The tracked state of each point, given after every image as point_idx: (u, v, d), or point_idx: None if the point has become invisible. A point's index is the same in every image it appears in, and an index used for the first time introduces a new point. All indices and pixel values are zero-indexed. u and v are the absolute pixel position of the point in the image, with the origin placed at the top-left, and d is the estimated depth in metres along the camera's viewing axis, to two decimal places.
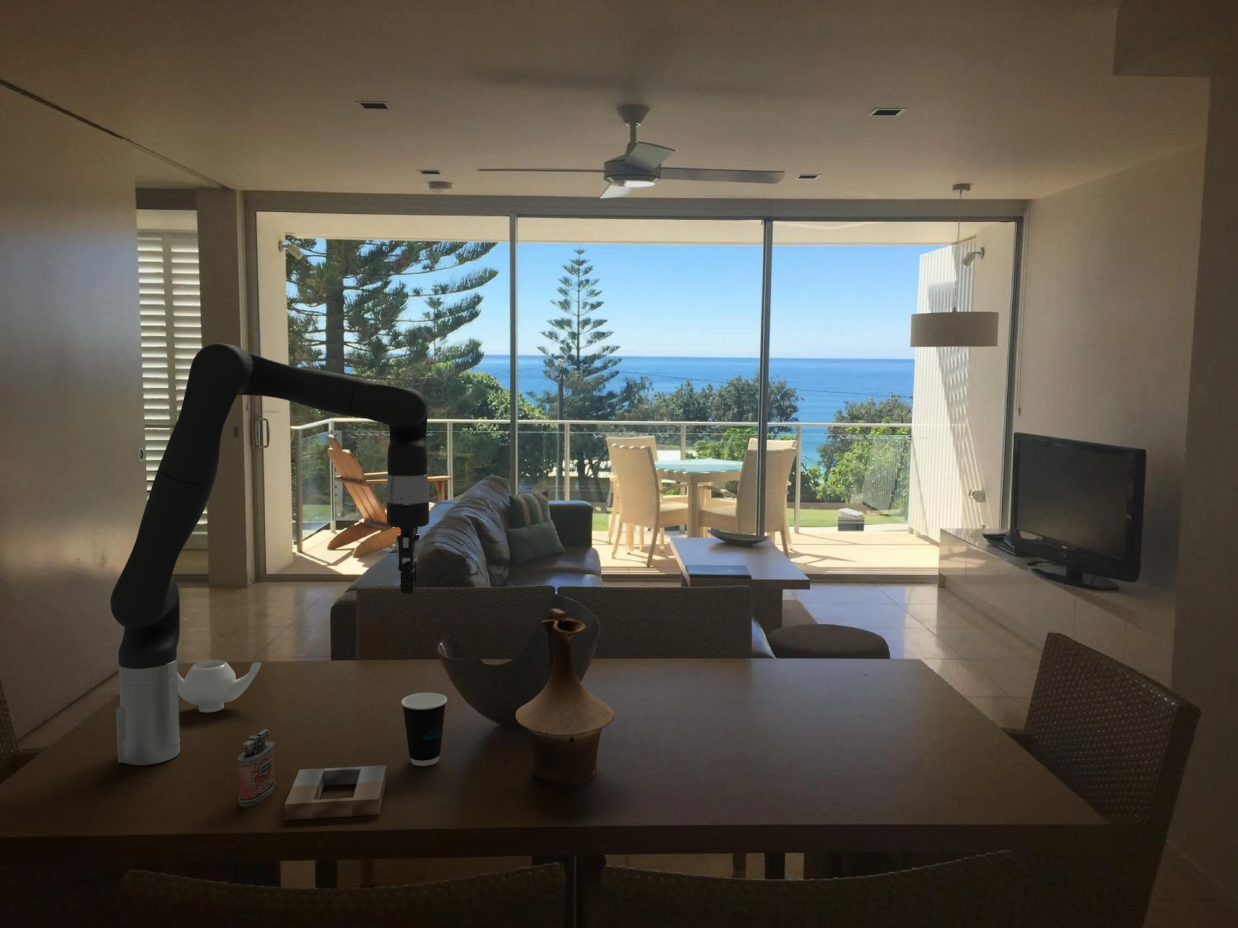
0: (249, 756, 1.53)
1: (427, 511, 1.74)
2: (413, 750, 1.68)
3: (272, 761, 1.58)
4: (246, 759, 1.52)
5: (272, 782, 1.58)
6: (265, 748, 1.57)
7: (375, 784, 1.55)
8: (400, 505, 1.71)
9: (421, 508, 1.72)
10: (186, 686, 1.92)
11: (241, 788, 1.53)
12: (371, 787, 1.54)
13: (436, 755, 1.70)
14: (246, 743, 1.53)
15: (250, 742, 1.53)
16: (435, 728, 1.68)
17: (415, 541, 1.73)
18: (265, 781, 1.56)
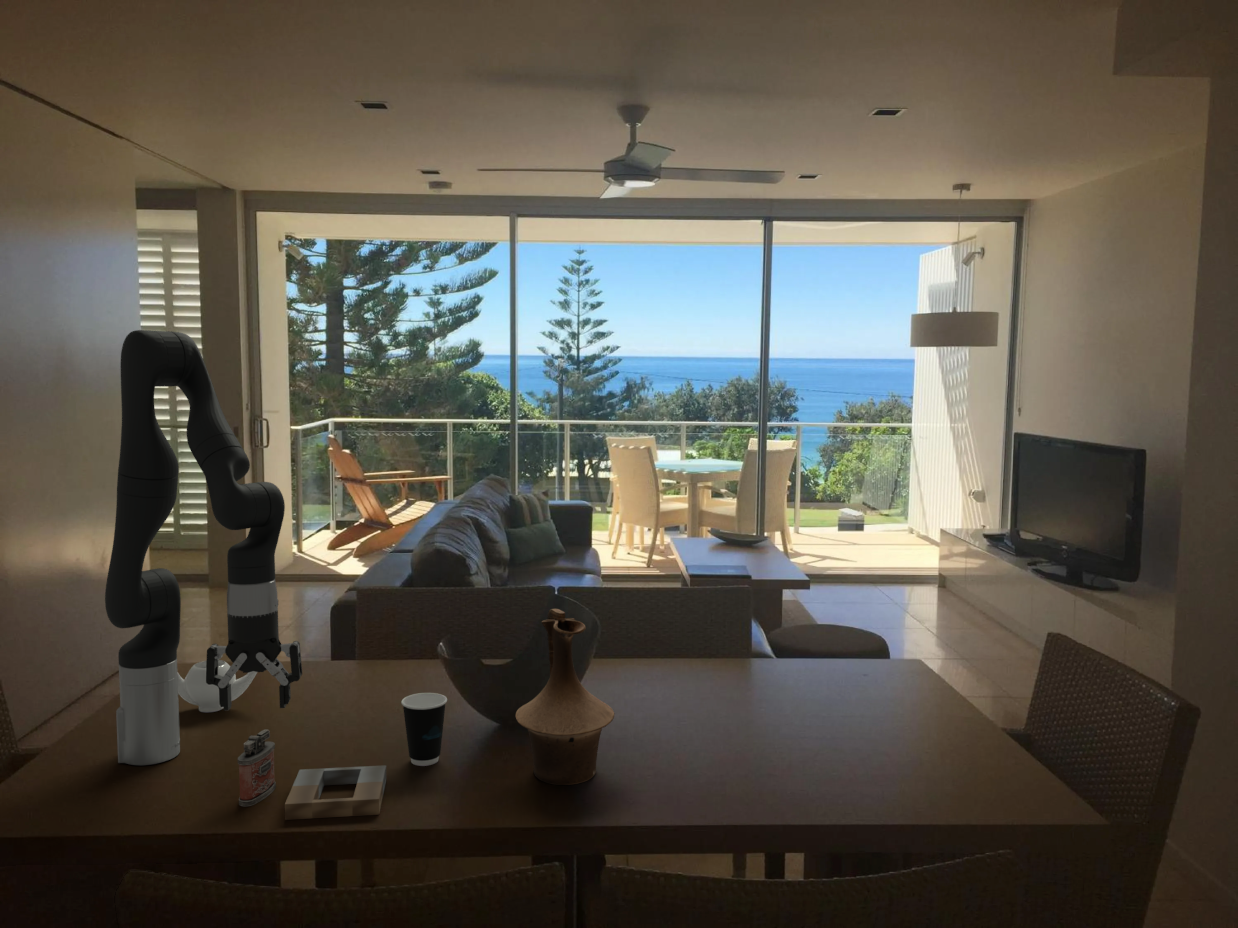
0: (249, 756, 1.53)
1: None
2: (413, 750, 1.68)
3: (272, 761, 1.58)
4: (246, 759, 1.52)
5: (272, 782, 1.58)
6: (265, 748, 1.57)
7: (375, 784, 1.55)
8: (275, 613, 1.53)
9: None
10: (186, 686, 1.92)
11: (241, 788, 1.53)
12: (371, 787, 1.54)
13: (436, 755, 1.70)
14: (246, 743, 1.53)
15: (250, 742, 1.53)
16: (435, 728, 1.68)
17: None
18: (265, 781, 1.56)
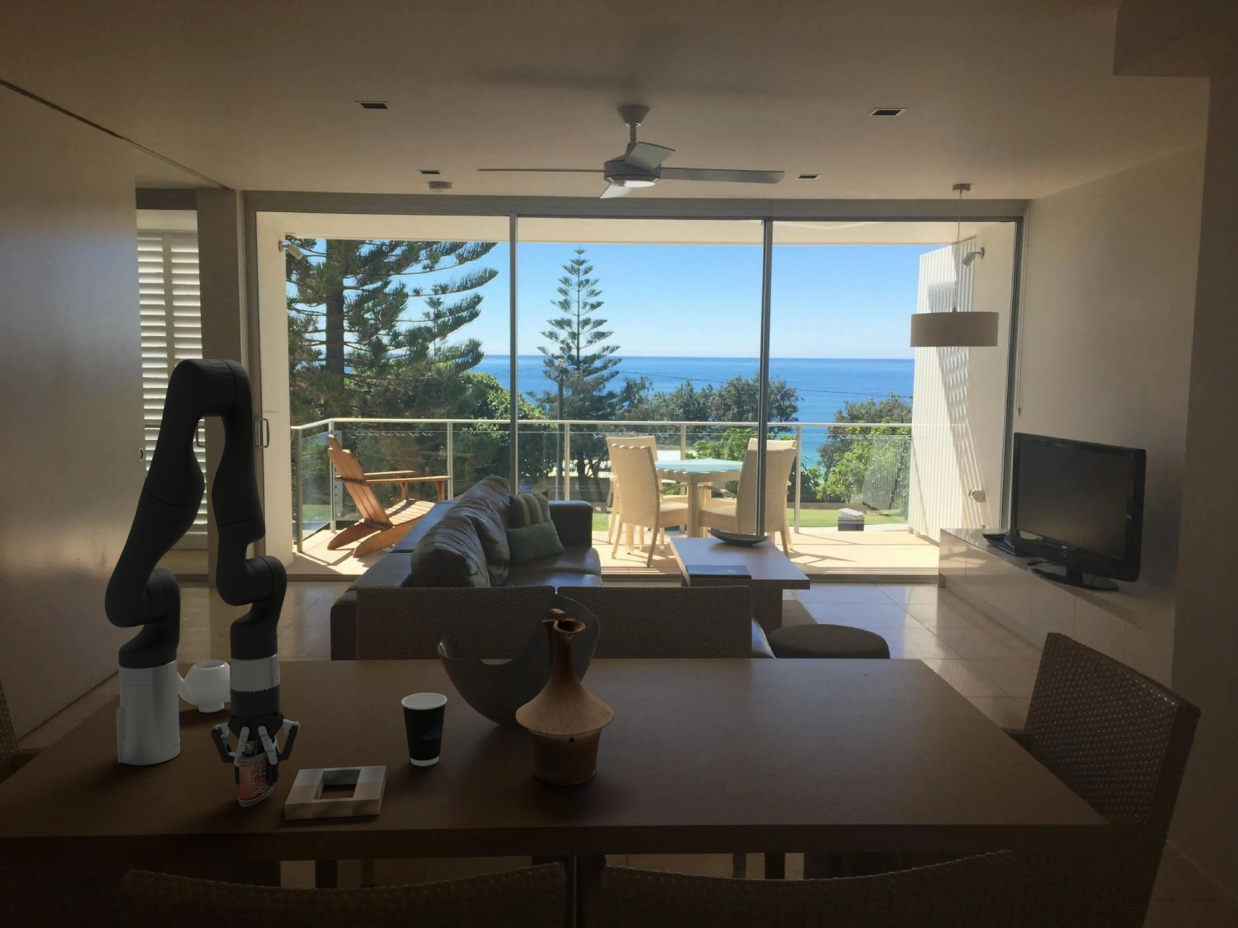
0: (250, 756, 1.53)
1: None
2: (413, 750, 1.68)
3: None
4: (246, 759, 1.52)
5: None
6: None
7: (375, 784, 1.55)
8: (277, 686, 1.54)
9: None
10: (186, 686, 1.92)
11: (241, 788, 1.52)
12: (371, 787, 1.54)
13: (436, 755, 1.70)
14: (246, 743, 1.53)
15: (250, 742, 1.53)
16: (435, 728, 1.68)
17: None
18: (266, 781, 1.56)
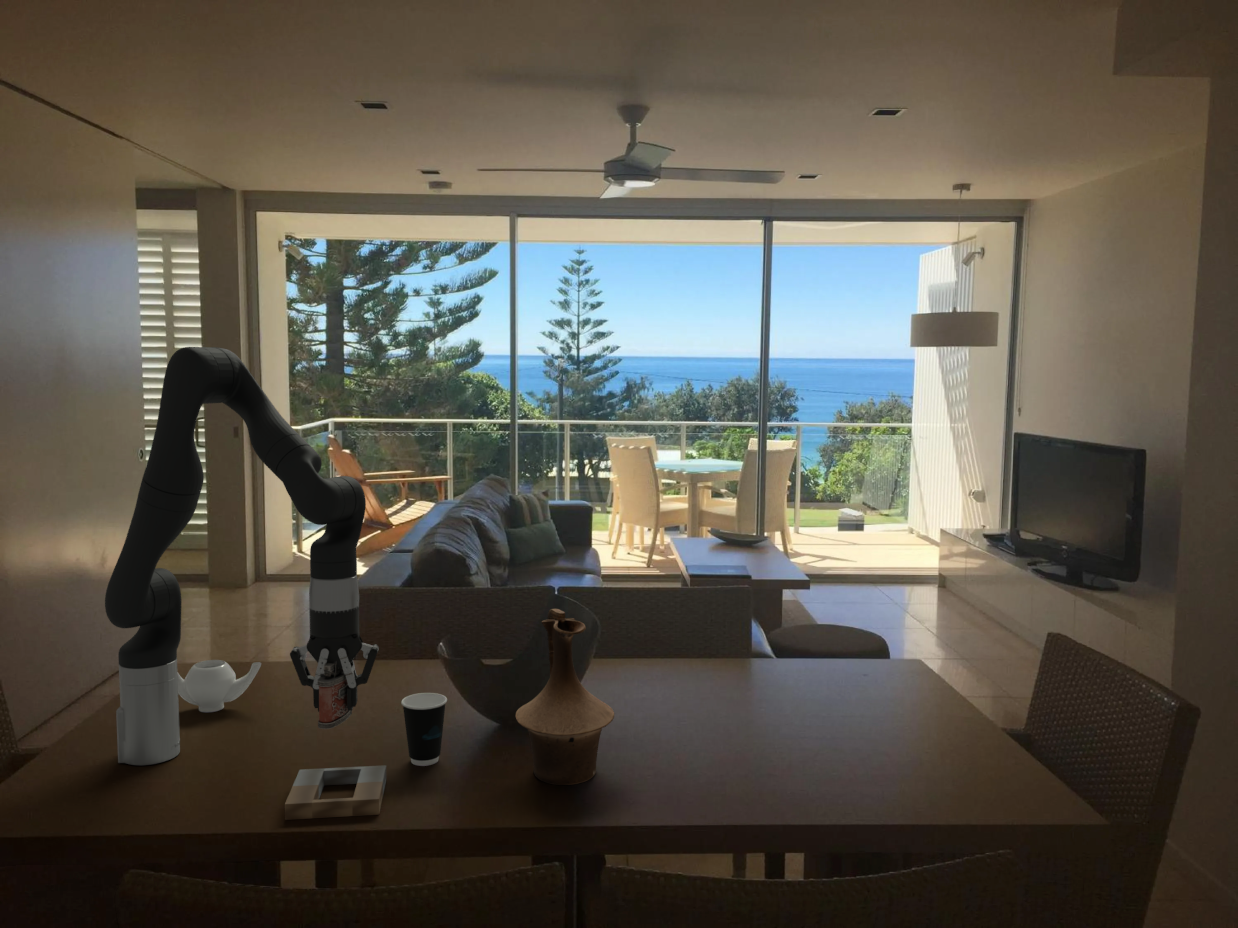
0: (329, 679, 1.51)
1: None
2: (413, 750, 1.68)
3: None
4: (326, 681, 1.50)
5: None
6: (343, 672, 1.54)
7: (375, 784, 1.55)
8: (356, 608, 1.52)
9: None
10: (186, 686, 1.92)
11: (321, 710, 1.50)
12: (371, 787, 1.54)
13: (436, 755, 1.69)
14: (326, 665, 1.51)
15: (330, 664, 1.51)
16: (435, 728, 1.68)
17: None
18: (344, 705, 1.54)
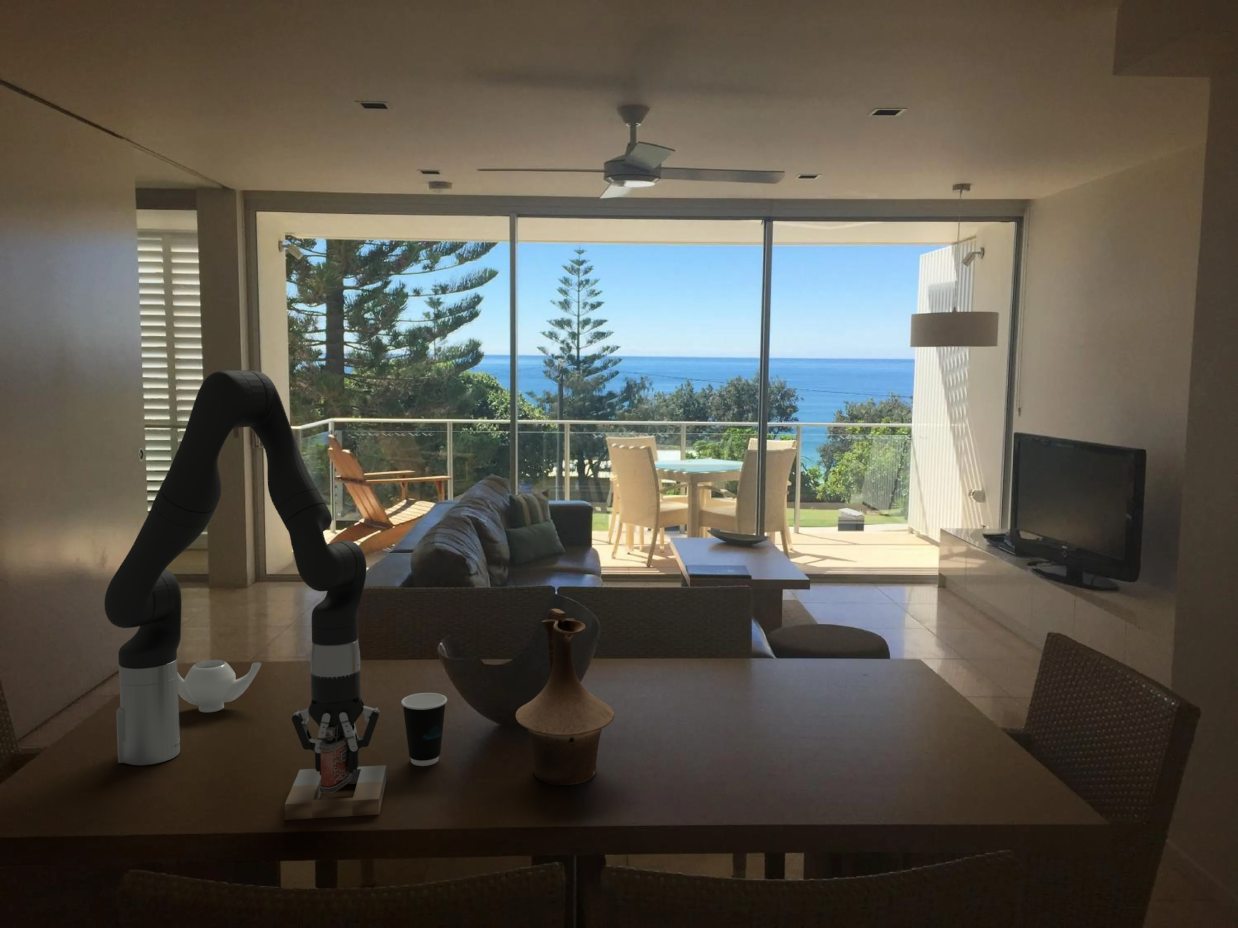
0: (331, 743, 1.52)
1: None
2: (413, 750, 1.68)
3: None
4: (328, 745, 1.51)
5: None
6: None
7: (375, 784, 1.55)
8: (358, 672, 1.53)
9: None
10: (186, 686, 1.92)
11: (323, 775, 1.51)
12: (371, 787, 1.54)
13: (436, 755, 1.69)
14: (327, 730, 1.51)
15: (332, 729, 1.52)
16: (435, 728, 1.68)
17: None
18: (345, 768, 1.55)
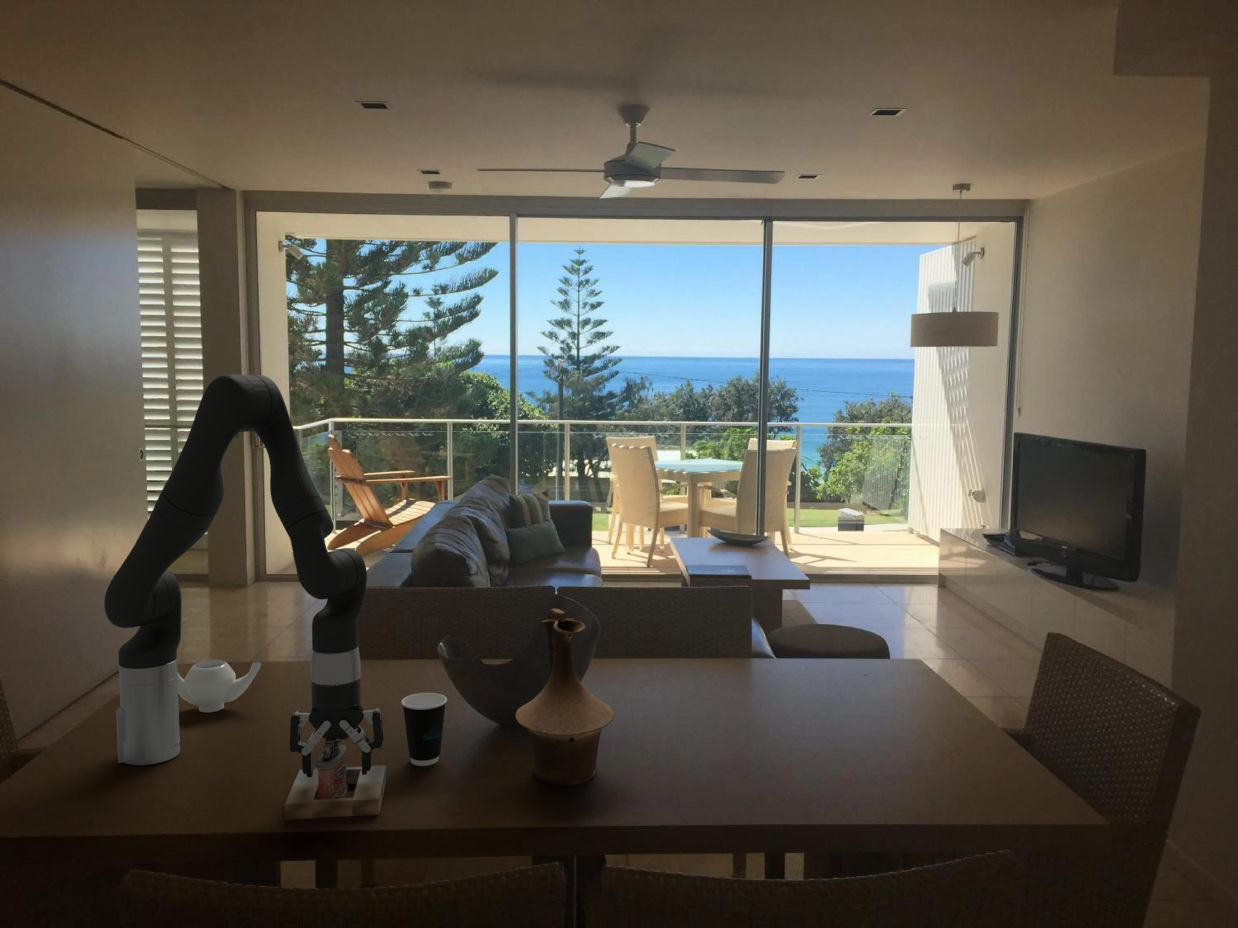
0: (328, 760, 1.52)
1: None
2: (413, 750, 1.68)
3: (345, 764, 1.57)
4: (326, 763, 1.51)
5: (345, 785, 1.57)
6: (340, 751, 1.55)
7: (375, 784, 1.55)
8: (358, 680, 1.53)
9: None
10: (186, 686, 1.92)
11: (321, 792, 1.51)
12: (371, 787, 1.54)
13: (436, 755, 1.69)
14: (324, 747, 1.52)
15: (328, 746, 1.52)
16: (435, 728, 1.68)
17: None
18: (341, 784, 1.55)
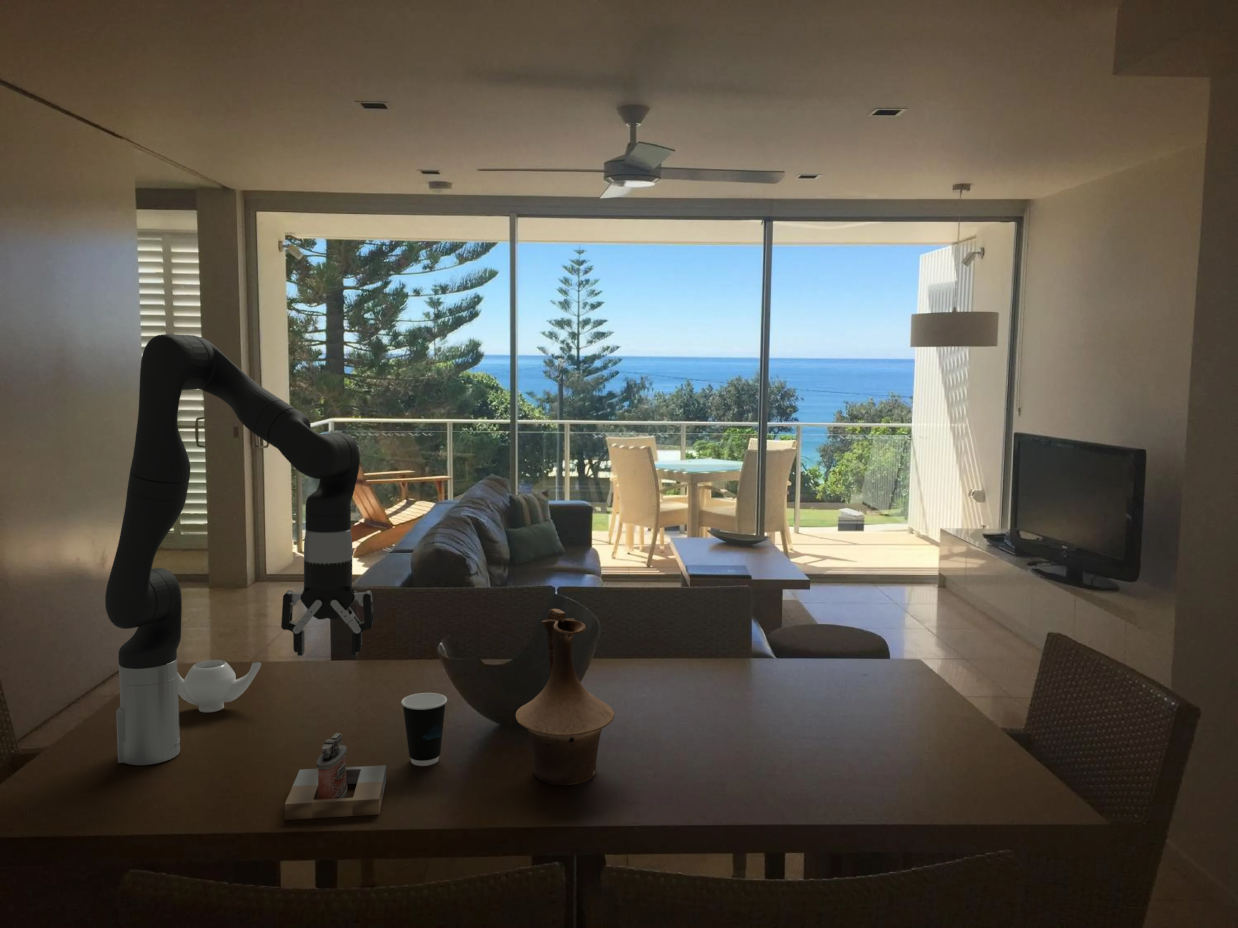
0: (328, 760, 1.52)
1: None
2: (413, 750, 1.68)
3: (345, 764, 1.57)
4: (326, 763, 1.51)
5: (345, 785, 1.57)
6: (339, 751, 1.55)
7: (375, 784, 1.55)
8: (350, 561, 1.56)
9: None
10: (186, 686, 1.92)
11: (320, 793, 1.51)
12: (371, 787, 1.54)
13: (436, 755, 1.69)
14: (324, 747, 1.52)
15: (328, 746, 1.52)
16: (435, 728, 1.68)
17: None
18: (341, 784, 1.55)
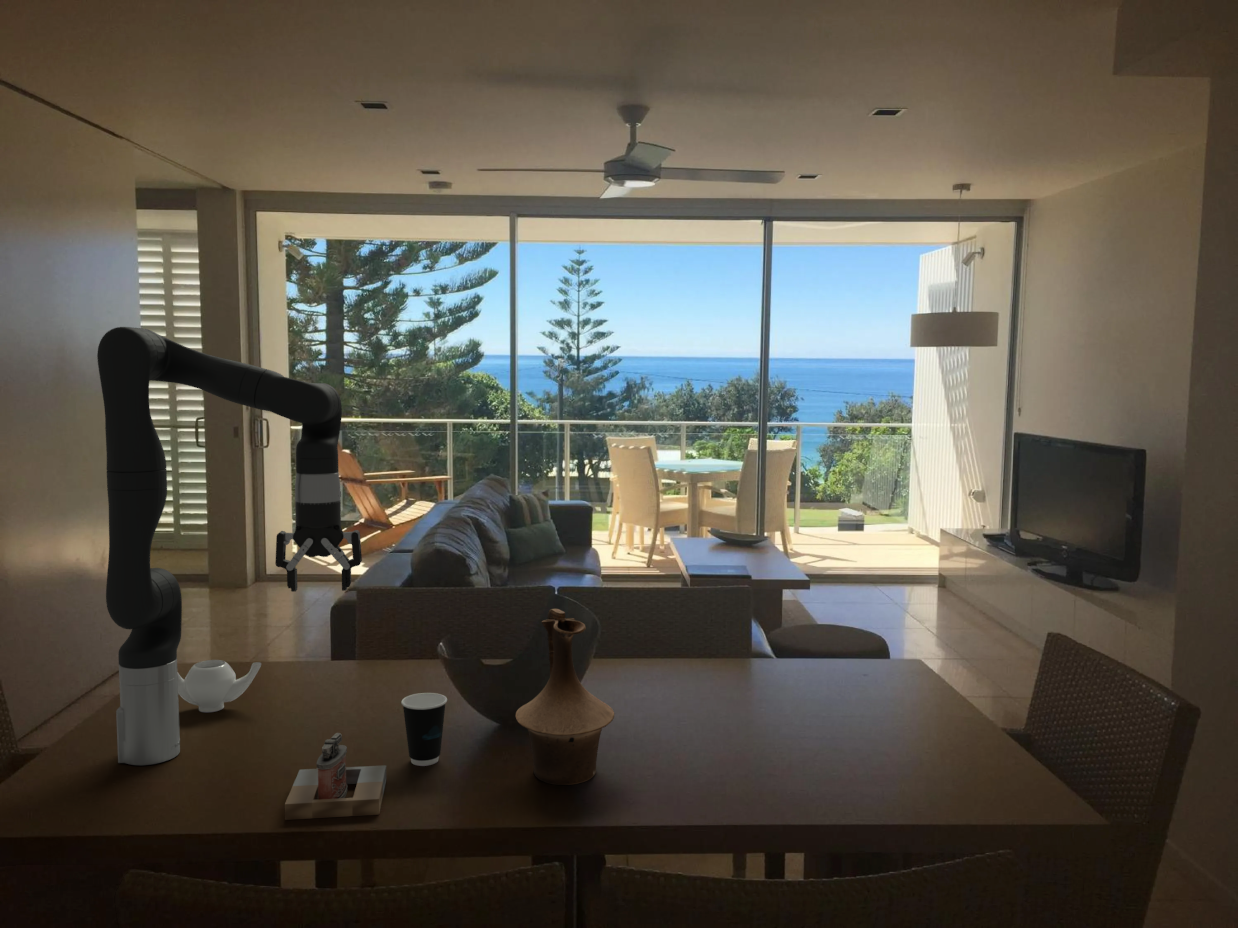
0: (328, 760, 1.52)
1: None
2: (413, 750, 1.68)
3: (345, 764, 1.57)
4: (326, 763, 1.51)
5: (345, 785, 1.57)
6: (339, 751, 1.55)
7: (375, 784, 1.55)
8: (338, 502, 1.68)
9: None
10: (186, 686, 1.92)
11: (320, 793, 1.51)
12: (371, 787, 1.54)
13: (436, 755, 1.69)
14: (324, 747, 1.52)
15: (328, 746, 1.52)
16: (435, 728, 1.68)
17: None
18: (341, 784, 1.55)
